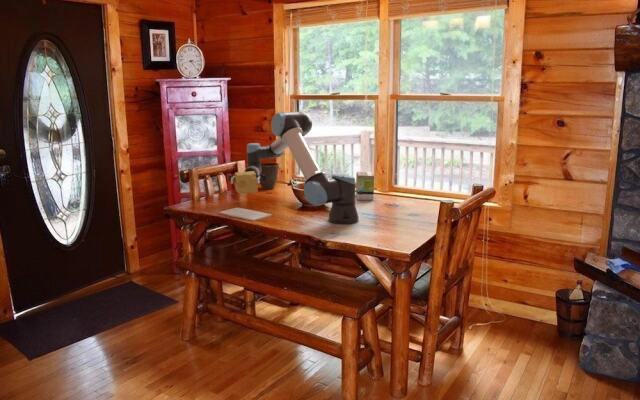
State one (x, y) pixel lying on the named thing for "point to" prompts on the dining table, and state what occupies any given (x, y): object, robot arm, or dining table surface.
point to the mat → (245, 214)
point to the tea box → (365, 185)
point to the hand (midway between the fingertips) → (244, 181)
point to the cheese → (245, 182)
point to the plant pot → (269, 175)
